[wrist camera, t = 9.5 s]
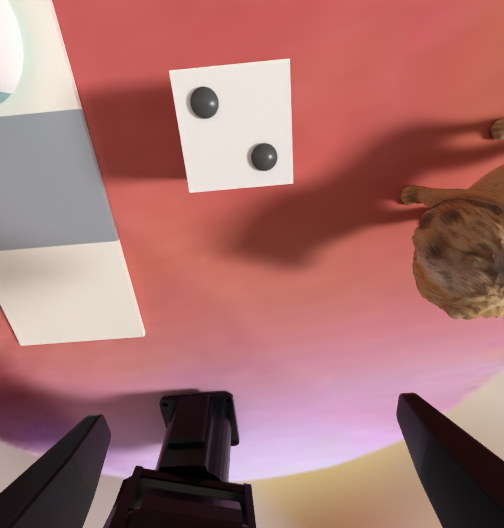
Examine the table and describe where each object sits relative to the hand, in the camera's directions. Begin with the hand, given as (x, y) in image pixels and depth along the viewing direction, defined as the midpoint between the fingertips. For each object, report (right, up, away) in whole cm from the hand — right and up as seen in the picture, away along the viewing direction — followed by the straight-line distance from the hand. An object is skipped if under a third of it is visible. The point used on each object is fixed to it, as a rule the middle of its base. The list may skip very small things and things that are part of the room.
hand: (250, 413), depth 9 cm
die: (-1, +13, +9) cm, 15 cm away
